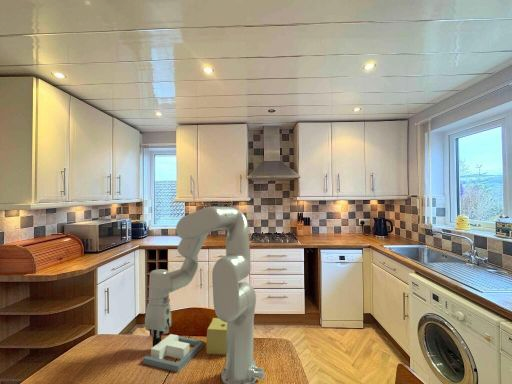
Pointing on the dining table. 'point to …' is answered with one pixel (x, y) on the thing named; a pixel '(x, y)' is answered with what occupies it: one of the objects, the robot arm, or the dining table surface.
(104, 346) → the dining table surface
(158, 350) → the t block
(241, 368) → the robot arm
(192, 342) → the frame
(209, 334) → the cheese
